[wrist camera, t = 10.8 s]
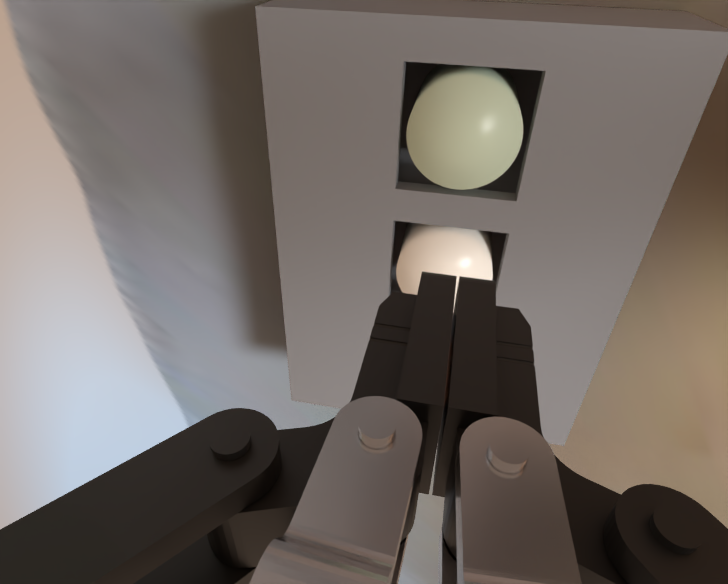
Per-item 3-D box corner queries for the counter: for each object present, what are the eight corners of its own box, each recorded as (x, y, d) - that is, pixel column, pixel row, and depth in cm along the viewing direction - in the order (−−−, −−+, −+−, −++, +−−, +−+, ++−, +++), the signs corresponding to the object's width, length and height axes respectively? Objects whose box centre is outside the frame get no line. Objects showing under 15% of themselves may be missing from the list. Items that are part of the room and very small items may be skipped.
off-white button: (498, 199, 25) (500, 240, 21) (483, 273, 27) (484, 319, 24) (409, 190, 25) (399, 228, 22) (403, 263, 28) (393, 306, 25)
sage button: (527, 56, 21) (535, 79, 18) (506, 158, 23) (510, 194, 20) (421, 49, 21) (410, 71, 18) (413, 149, 24) (402, 183, 21)
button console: (686, 11, 20) (736, 32, 16) (554, 381, 32) (563, 445, 28) (296, -9, 22) (255, 6, 18) (313, 345, 34) (291, 400, 31)
